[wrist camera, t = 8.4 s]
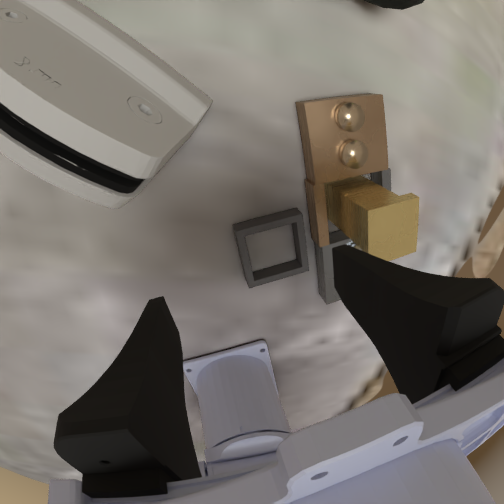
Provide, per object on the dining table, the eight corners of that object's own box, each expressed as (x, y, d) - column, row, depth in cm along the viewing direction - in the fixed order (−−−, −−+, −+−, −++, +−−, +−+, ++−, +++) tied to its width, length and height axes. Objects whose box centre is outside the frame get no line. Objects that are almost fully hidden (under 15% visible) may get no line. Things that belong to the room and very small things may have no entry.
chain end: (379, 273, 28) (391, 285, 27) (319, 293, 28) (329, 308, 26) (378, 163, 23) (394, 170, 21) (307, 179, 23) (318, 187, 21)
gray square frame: (303, 262, 26) (309, 270, 25) (245, 279, 25) (249, 288, 24) (296, 208, 23) (302, 213, 22) (232, 224, 23) (235, 231, 22)
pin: (365, 213, 25) (416, 251, 19) (323, 224, 25) (368, 268, 19) (363, 168, 23) (419, 197, 17) (318, 178, 23) (367, 210, 17)
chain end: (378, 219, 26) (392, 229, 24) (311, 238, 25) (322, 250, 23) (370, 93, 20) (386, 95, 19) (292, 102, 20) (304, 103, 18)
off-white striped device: (217, 104, 19) (187, 180, 12) (172, 152, 21) (125, 249, 14) (39, -22, 11) (-71, -7, 4) (8, 33, 14) (-95, 75, 6)
